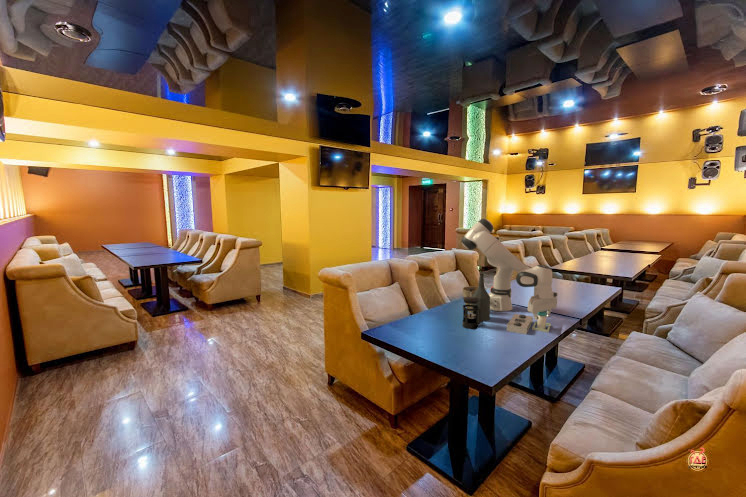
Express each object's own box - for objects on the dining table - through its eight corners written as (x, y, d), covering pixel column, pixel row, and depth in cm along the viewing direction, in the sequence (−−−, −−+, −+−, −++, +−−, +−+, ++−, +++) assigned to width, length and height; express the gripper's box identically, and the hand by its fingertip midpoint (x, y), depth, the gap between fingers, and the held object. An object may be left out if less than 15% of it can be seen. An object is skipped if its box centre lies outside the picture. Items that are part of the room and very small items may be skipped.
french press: (458, 325, 192) (458, 288, 189) (467, 322, 198) (467, 285, 195) (475, 331, 183) (476, 291, 180) (484, 327, 189) (485, 288, 186)
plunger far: (519, 321, 190) (519, 315, 189) (520, 319, 192) (520, 314, 192) (524, 322, 188) (525, 316, 188) (525, 320, 191) (525, 315, 190)
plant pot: (457, 310, 222) (458, 287, 220) (476, 307, 226) (476, 285, 224) (470, 316, 208) (470, 292, 206) (490, 313, 212) (490, 290, 210)
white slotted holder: (526, 337, 172) (526, 328, 172) (506, 333, 178) (506, 324, 178) (532, 324, 191) (532, 316, 190) (514, 321, 196) (514, 313, 196)
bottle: (487, 318, 204) (488, 271, 201) (491, 323, 194) (492, 274, 191) (470, 317, 205) (471, 271, 202) (474, 323, 195) (474, 274, 192)
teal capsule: (542, 331, 178) (543, 313, 177) (534, 328, 183) (535, 311, 182) (548, 329, 181) (548, 312, 179) (540, 327, 185) (541, 310, 184)
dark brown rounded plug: (514, 329, 178) (514, 323, 177) (515, 327, 180) (515, 321, 180) (520, 330, 176) (520, 324, 175) (521, 328, 178) (521, 322, 178)
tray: (532, 332, 179) (532, 327, 179) (535, 325, 189) (535, 321, 189) (548, 335, 175) (548, 330, 174) (550, 328, 184) (550, 323, 184)
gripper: (535, 297, 172) (534, 322, 174) (559, 292, 181) (558, 316, 183) (525, 295, 178) (524, 319, 179) (549, 290, 187) (548, 313, 188)
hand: (541, 318), depth 181 cm, fingers open, 8 cm apart
